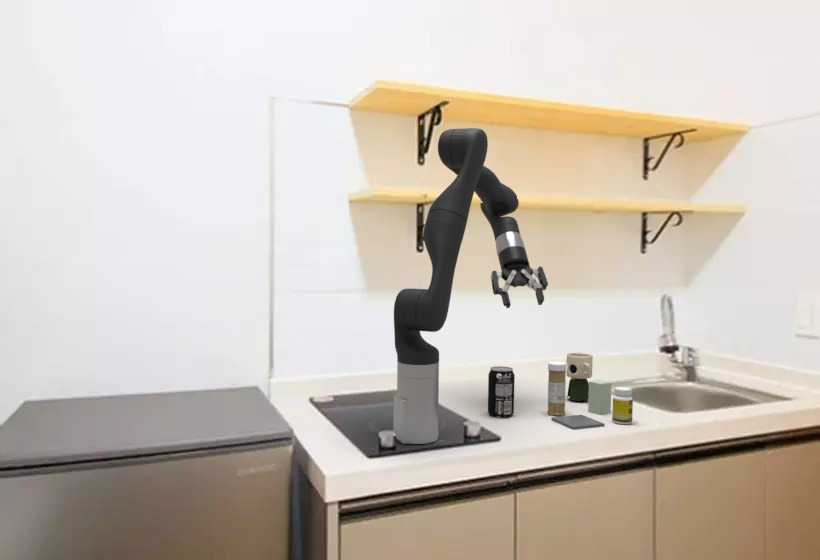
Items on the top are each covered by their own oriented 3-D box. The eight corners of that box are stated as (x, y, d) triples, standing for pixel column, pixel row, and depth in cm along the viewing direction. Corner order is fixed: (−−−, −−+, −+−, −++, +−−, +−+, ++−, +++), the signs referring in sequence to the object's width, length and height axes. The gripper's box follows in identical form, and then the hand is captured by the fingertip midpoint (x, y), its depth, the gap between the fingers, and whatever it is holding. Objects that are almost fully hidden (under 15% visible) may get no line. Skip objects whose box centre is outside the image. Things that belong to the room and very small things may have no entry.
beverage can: (496, 410, 169) (497, 365, 168) (518, 414, 164) (519, 368, 164) (482, 415, 164) (483, 368, 163) (505, 419, 159) (506, 371, 159)
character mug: (557, 396, 186) (558, 351, 185) (580, 395, 187) (581, 351, 187) (576, 405, 175) (577, 358, 174) (600, 404, 177) (601, 357, 176)
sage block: (599, 414, 165) (600, 384, 165) (588, 411, 169) (588, 381, 168) (610, 413, 167) (611, 382, 167) (598, 409, 171) (599, 379, 170)
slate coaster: (573, 429, 151) (573, 427, 151) (551, 419, 160) (551, 417, 160) (604, 426, 155) (604, 423, 155) (581, 416, 163) (581, 414, 163)
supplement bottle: (632, 425, 155) (632, 391, 155) (611, 423, 157) (612, 389, 157) (632, 420, 160) (633, 387, 159) (612, 418, 161) (613, 385, 161)
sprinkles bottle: (562, 411, 168) (563, 360, 167) (567, 416, 163) (568, 364, 163) (545, 411, 168) (546, 360, 167) (549, 416, 163) (550, 363, 162)
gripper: (487, 247, 169) (500, 300, 161) (540, 242, 171) (555, 295, 163) (483, 262, 176) (495, 314, 168) (534, 257, 177) (548, 309, 169)
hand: (524, 305), depth 165 cm, fingers open, 8 cm apart
